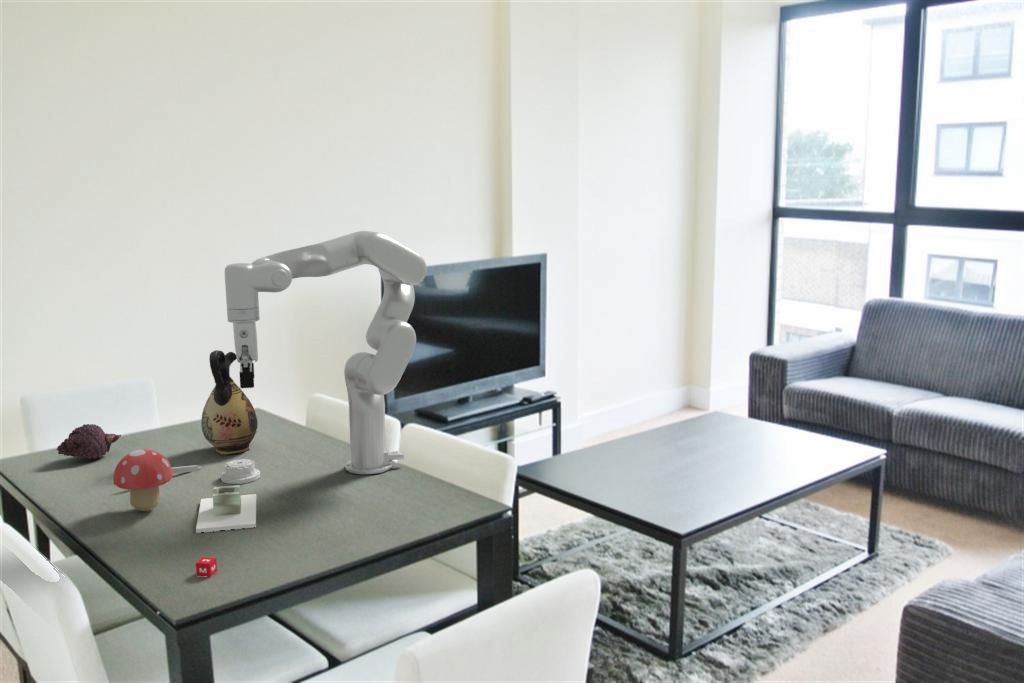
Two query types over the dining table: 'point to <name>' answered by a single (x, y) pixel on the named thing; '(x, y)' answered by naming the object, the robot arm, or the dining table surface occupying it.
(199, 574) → the dice
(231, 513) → the pale green open box
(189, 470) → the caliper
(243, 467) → the mechanical component
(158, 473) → the decorative mushroom
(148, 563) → the dining table surface
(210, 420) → the ceramic jug
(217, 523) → the pin board
